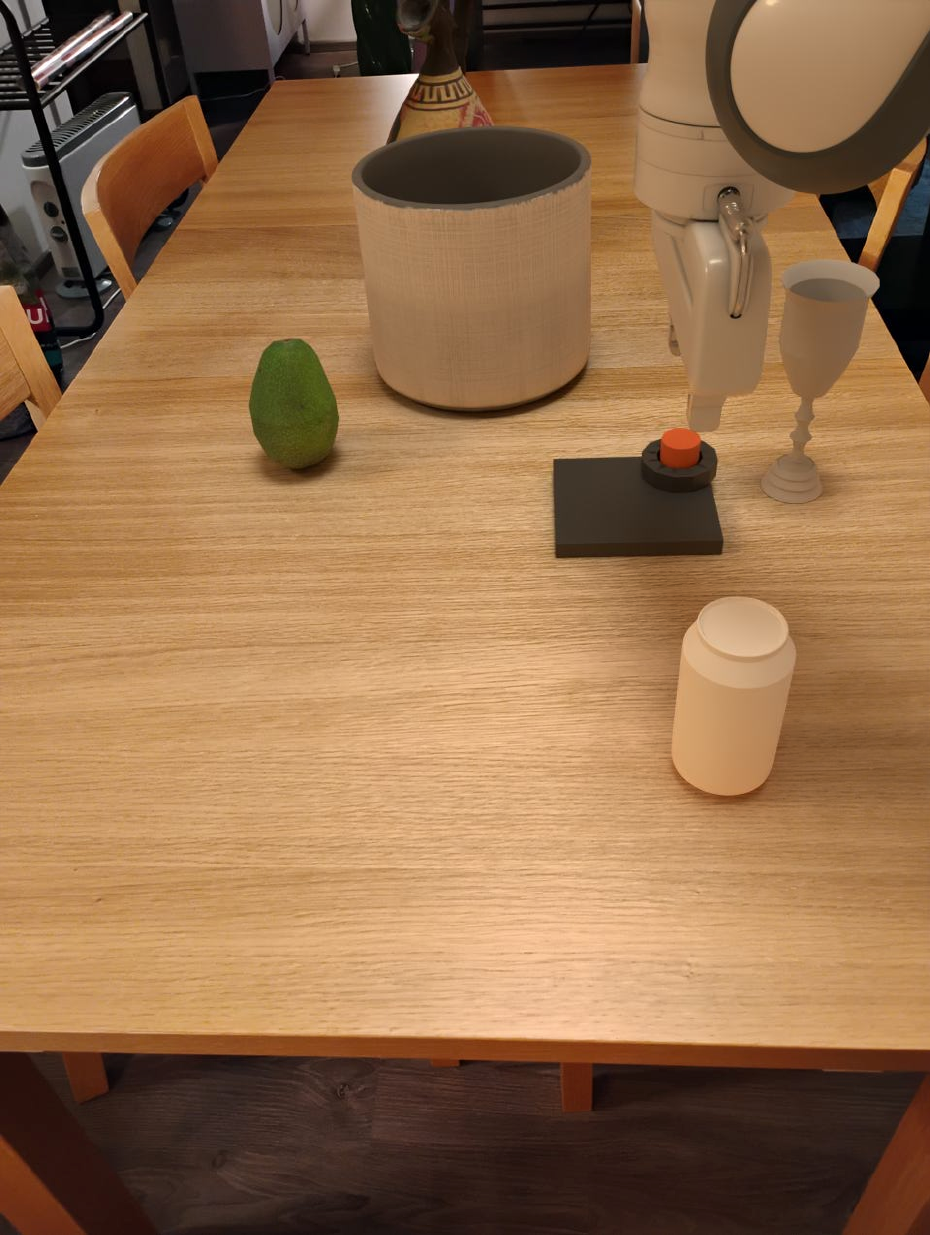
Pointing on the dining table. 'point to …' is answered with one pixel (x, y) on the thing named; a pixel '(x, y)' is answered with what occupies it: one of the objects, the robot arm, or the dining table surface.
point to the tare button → (680, 448)
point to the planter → (477, 264)
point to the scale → (635, 506)
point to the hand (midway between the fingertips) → (691, 386)
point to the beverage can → (732, 695)
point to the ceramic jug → (438, 70)
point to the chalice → (816, 356)
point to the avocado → (293, 405)
